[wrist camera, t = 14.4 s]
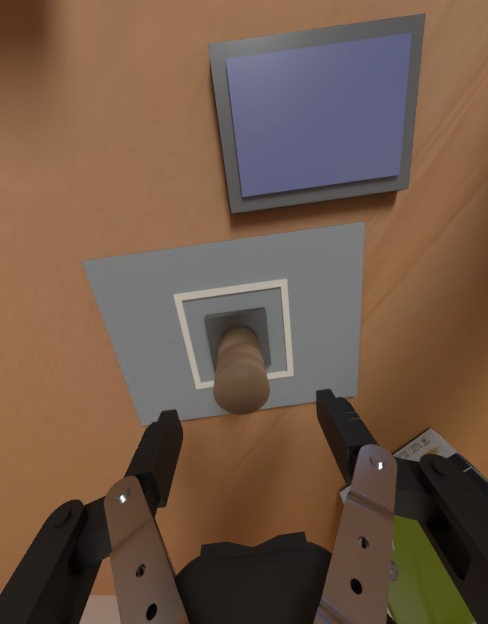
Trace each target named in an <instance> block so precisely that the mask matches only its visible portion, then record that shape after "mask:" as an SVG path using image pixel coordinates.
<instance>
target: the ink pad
mask: <svg viewBox="0 0 488 624" xmlns="http://www.w3.org/2000/svg"><path fill="white" fill-rule="evenodd" d="M424 23H425V14H418V15H411V16H404V17H397V18H390V19H382V20H375V21H368V22H361V23H354V24H347V25H340V26H333V27H326V28H319V29H312V30H305V31H298V32H291V33H284V34H277V35H270V36H262V37H255V38H248V39H241V40H234V41H227V42H220V43H213V44H208V49H209V56H210V64H211V71H212V78H213V85H214V92H215V100H216V107H217V114H218V121H219V128H220V136H221V143H222V150H223V157H224V164H225V172H226V179H227V186H228V193H229V200H230V208H231V215H233V214H240V213H247V212H254V211H261V210H268V209H275V208H283V207H290V206H297V205H304V204H311V203H318V202H325V201H332V200H339V199H347V198H354V197H361V196H368V195H375V194H382V193H389V192H396V191H401V190H405V189H408V187H409V176H410V166H411V156H412V146H413V135H414V125H415V115H416V105H417V95H418V84H419V74H420V64H421V54H422V43H423V33H424Z"/></svg>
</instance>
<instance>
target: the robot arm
mask: <svg viewBox="0 0 488 624" xmlns="http://www.w3.org/2000/svg"><path fill="white" fill-rule="evenodd" d="M316 408H317V417H318V421H319V423H320V426H321V428H322V430H323V433H324V435H325V437H326V439H327V442H328V444H329V446H330V449H331V451H332V453H333V455H334V458H335V460H336V462H337V464H338V467H339V469H340V471H341V474H342V476H343V478H344V480H345V483H346V484H351V488H350V492H348V493H347V496H346V500H345V504H344V508H343V512H342V516H341V520H340V524H339V528H338V533H337V537H336V541H335V545H334V549H333V553H330V552H329V551H328V550H326V549H325V548H323V547H321V546H319V545H317V544H314V543H312V542H307V541H306V537H305V533H304V532H298V533H290V534H283V535H278V536H276V537H274V538H272V539H270V540H268V541H266V542H264V543H262V544H260V545H258V546H255V547H248V546H244V545H239V544H235V543H230V542H220V543H213V544H205V545H201V554H200V556H198V557H197V558H195V559H194V560H192V561H191V562H190V563H188V564H187V565H186V566H185V567H184V568H183V569H182V570H181V571H180V572H179V573H178V575H176V572H175V570H174V567H173V565H172V562H171V560H170V557H169V555H168V552H167V549H166V547H165V544H164V541H163V538H162V536H161V533H160V530H159V528H158V525H157V522H156V520H155V515H156V511H157V508H162V507H166V504H167V500H168V496H169V492H170V488H171V484H172V481H173V477H174V473H175V469H176V465H177V461H178V457H179V453H180V449H181V445H182V441H183V429H182V426H181V423H180V419H179V416H178V413H177V410H176V409H173V410H165V411H162V412H161V413H160V416H159V418H158V421H157V422H152V423H151V424H150V426H149V427H148V428H147V429H146V430H145V432H144V434H143V437H142V439H141V441H140V443H139V445H138V448H137V450H136V452H135V454H134V456H133V458H132V461H131V463H130V465H129V467H128V469H127V472H126V474H125V476H124V478H122V479H121V480H119V481H118V482H116V483H115V484H114V485H113V486H112V487H111V488H110V490H109V491H108V492H107V494H106V496H104V497H102V498H100V499H98V500H95V501H93V502H91V503H89V504H87V505H83V503H82V502H81V501H80V500H76V499H75V500H70V501H68V502H66V503H64V504H62V505H61V506H60V507H58V508H57V509H56V510H55V511H54V512H53V513H52V514H51V515H50V516H49V517H48V518H47V520H46V521H45V523H44V524H43V526H42V528H41V529H40V531H39V533H38V534H37V536H36V537H35V539H34V541H33V542H32V544H31V546H30V547H29V549H28V550H27V552H26V554H25V555H24V557H23V559H22V560H21V562H20V563H19V565H18V567H17V568H16V570H15V572H14V573H13V575H12V576H11V578H10V580H9V581H8V583H7V585H6V586H5V588H4V589H3V591H2V593H1V594H0V624H79V622H80V620H81V617H82V614H83V611H84V609H85V606H86V603H87V600H88V597H89V595H90V592H91V590H92V587H93V584H94V581H95V579H96V576H97V573H98V570H99V568H100V565H101V562H102V560H103V559H104V558H106V557H108V556H110V563H111V569H112V575H113V581H114V586H115V592H116V597H117V604H118V609H119V615H120V621H121V624H396V622H395V621H394V620H393V619H392V618H391V617H390V616H389V615H388V614H387V607H388V593H389V580H390V566H391V553H392V539H393V526H394V515H396V516H400V517H404V518H408V519H412V520H416V521H418V522H419V524H420V526H421V527H422V529H423V531H424V533H425V534H426V536H427V538H428V540H429V541H430V543H431V545H432V547H433V548H434V550H435V552H436V553H437V555H438V557H439V559H440V560H441V562H442V564H443V566H444V567H445V569H446V571H447V573H448V574H449V576H450V578H451V579H452V581H453V583H454V585H455V586H456V588H457V590H458V592H459V593H460V595H461V597H462V599H463V600H464V602H465V604H466V605H467V607H468V609H469V611H470V612H471V614H472V616H473V618H474V619H475V621H476V623H477V624H488V499H487V498H486V497H485V496H484V495H483V493H482V492H481V491H480V490H479V489H478V488H477V487H476V485H475V484H474V483H473V482H472V481H471V480H470V479H469V478H468V476H467V475H466V474H465V473H464V472H463V471H462V470H461V469H460V468H459V467H458V466H457V465H456V464H455V463H454V462H452V461H451V460H449V459H447V458H445V457H443V456H440V455H437V454H425V455H423V456H422V457H421V458H420V462H418V461H412V460H407V459H401V458H397V457H395V456H393V455H392V454H391V453H390V452H389V451H388V450H386V449H385V448H383V447H381V446H379V445H378V444H377V442H376V441H375V439H374V438H373V436H372V435H371V433H370V432H369V430H368V429H367V427H366V426H365V424H364V423H363V422H362V420H361V419H360V417H359V416H358V414H357V413H356V412H355V410H354V408H353V407H352V405H351V404H350V403H349V402H348V401H347V400H345V399H344V398H343V397H337V398H336V397H335V395H334V394H333V392H332V390H331V389H322V390H316Z"/></svg>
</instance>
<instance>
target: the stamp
mask: <svg viewBox="0 0 488 624" xmlns="http://www.w3.org/2000/svg"><path fill="white" fill-rule="evenodd" d="M204 321H205V326H206V332H207V337H208V342H209V347H210V352H211V357H212V362H213V367H214V372H216V373H215V381H214V388H213V395H214V399H215V401H216V403H217V404H218V405H219V406H220V407H221V408H222V409H223V410H225V411H227V412H229V413H232V414H239V415H243V414H249V413H252V412H255V411H257V410H258V409H260V408H261V407H262V406H263V405H264V404H265V403H266V402H267V400H268V398H269V395H270V386H269V382H268V378H267V373H266V369H265V366H266V365H271V356H270V346H269V336H268V326H267V315H266V310H265V307H260V308H252V309H245V310H237V311H230V312H222V313H215V314H207V315H205V318H204Z"/></svg>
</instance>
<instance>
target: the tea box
mask: <svg viewBox="0 0 488 624" xmlns="http://www.w3.org/2000/svg"><path fill="white" fill-rule="evenodd" d="M425 454H437V455H440V456H443V457H445V458H447V459H449V460H451V461H452V462H454V463H455V464H456V465H457V466H458V467H459V468H460V469H461V470H462V471H463V472H464V473H465V474H466V475H467V476H468V478H469V479H470V480H471V481H472V482H473V483H474V484H475V485H476V487H477V488H478V489H479V490H480V491H481V492H482V493H483V495H484V496H485V497H486V498H487V499H488V479H487V478H485V477H484V476H483V475H482V474H481V473H480V472H479V471H478V470H477V469H476V468H475V467H474V466H473V465H472V464H471V463H469V462H468V461H467V460H466V459H465V458H464V457H463V456H462V455H461V454H459V453H458V452H457V451H456V450H455V449H454V448H453V447H452V446H451V445H450V444H449V443H448V442H446V441H445V440H444V439H443V438H442V437H441V436H440V435H439V434H438V433H437V432H436V431H434V430H433V429H432V428H430V429H428V430H427V431H426V432H424V433H423V434H421V435H420V436H419V437H417V438H416V439H414V440H413V441H412V442H410V443H409V444H407V445H406V446H404V447H403V448H402V449H400V450H399V451H397V452H396V453H395V454H393V456H395V457H397V458H401V459H407V460H412V461H418V462H420V458H421V457H422V456H423V455H425ZM350 488H351V485H349V486H348V487H346V488H345V489H343V490H342V491H340V492H339V494H340V497H341V499H342V502H343V504H345V500H346V496H347V493H348V492H350ZM388 609H389V611H390V613H391V616H392V618H393V620H394V621H395V622H396V624H477V623H476V621H475V619H474V618H473V616H472V614H471V612H470V611H469V609H468V607H467V605H466V604H465V602H464V600H463V599H462V597H461V595H460V593H459V592H458V590H457V588H456V586H455V585H454V583H453V581H452V579H451V578H450V576H449V574H448V573H447V571H446V569H445V567H444V566H443V564H442V562H441V560H440V559H439V557H438V555H437V553H436V552H435V550H434V548H433V547H432V545H431V543H430V541H429V540H428V538H427V536H426V534H425V533H424V531H423V529H422V527H421V526H420V524H419V522H418V521H416V520H412V519H408V518H404V517H400V516H396V515H394V526H393V539H392V553H391V566H390V580H389V593H388Z"/></svg>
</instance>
